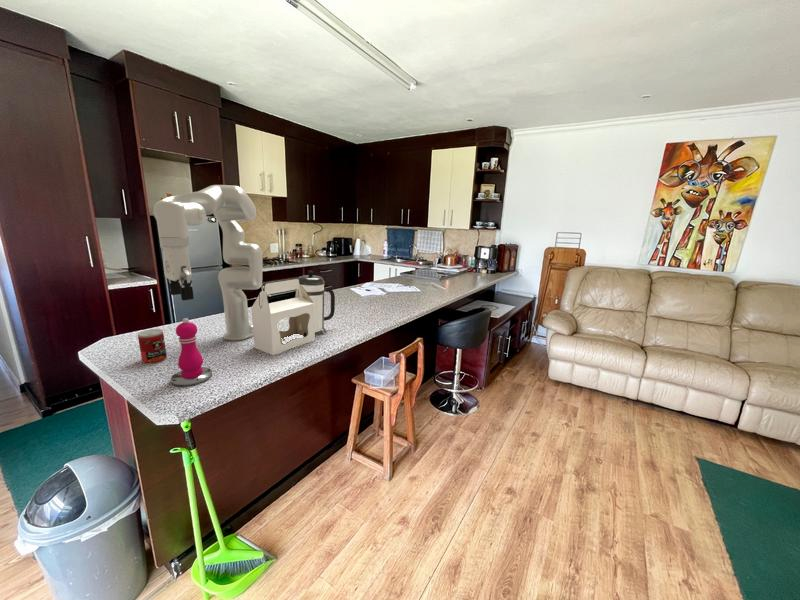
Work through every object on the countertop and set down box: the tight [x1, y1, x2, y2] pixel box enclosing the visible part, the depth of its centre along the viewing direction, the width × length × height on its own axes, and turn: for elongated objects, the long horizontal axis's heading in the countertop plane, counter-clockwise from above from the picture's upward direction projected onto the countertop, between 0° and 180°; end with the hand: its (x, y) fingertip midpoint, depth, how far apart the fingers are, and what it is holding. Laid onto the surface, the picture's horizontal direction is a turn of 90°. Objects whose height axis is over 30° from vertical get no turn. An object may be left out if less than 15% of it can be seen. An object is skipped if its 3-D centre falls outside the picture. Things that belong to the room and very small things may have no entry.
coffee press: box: [297, 270, 336, 337], centre depth 158 cm, size 17×16×30 cm
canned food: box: [137, 328, 168, 365], centre depth 125 cm, size 8×8×11 cm
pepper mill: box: [175, 317, 204, 379], centre depth 111 cm, size 7×7×20 cm
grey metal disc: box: [170, 366, 213, 388], centre depth 113 cm, size 12×12×2 cm
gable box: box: [251, 278, 316, 356], centre depth 142 cm, size 22×13×28 cm, turn 145°
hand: (182, 296), depth 107 cm, fingers open, 9 cm apart
